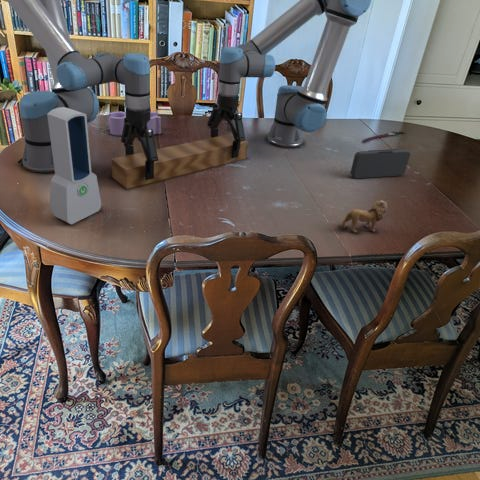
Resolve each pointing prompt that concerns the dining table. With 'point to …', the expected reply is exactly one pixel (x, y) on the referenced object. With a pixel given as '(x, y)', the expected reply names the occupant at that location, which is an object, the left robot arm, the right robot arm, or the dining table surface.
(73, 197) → the electronic device
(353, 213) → the lion figurine
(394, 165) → the handheld gaming console
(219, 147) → the wide beam
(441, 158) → the dining table surface
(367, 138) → the sword
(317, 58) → the right robot arm
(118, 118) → the purple desk organizer
